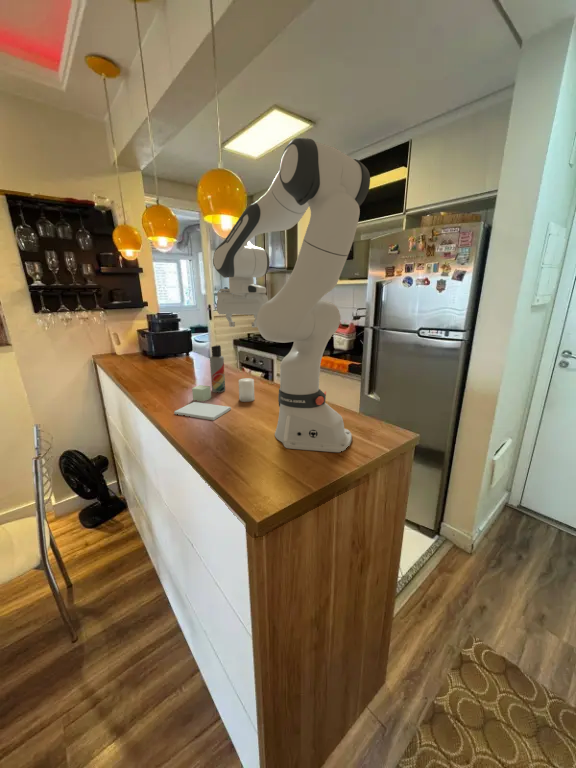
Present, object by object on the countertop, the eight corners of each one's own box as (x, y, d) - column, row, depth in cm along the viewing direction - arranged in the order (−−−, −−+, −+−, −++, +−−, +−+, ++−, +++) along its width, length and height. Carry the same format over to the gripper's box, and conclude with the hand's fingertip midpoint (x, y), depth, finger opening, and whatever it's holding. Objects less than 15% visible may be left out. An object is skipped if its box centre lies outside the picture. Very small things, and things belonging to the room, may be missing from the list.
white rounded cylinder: (257, 398, 125) (256, 379, 123) (250, 402, 120) (249, 382, 118) (243, 396, 127) (243, 377, 125) (236, 400, 122) (235, 381, 120)
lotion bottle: (222, 393, 131) (219, 346, 126) (209, 392, 132) (206, 346, 127) (227, 389, 137) (225, 344, 131) (215, 388, 138) (212, 344, 132)
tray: (230, 409, 112) (230, 406, 112) (213, 420, 102) (213, 417, 102) (194, 404, 118) (194, 401, 117) (174, 414, 108) (174, 411, 107)
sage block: (211, 398, 125) (210, 386, 124) (203, 401, 121) (202, 389, 119) (200, 396, 127) (199, 385, 125) (193, 400, 122) (192, 388, 121)
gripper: (212, 288, 113) (214, 326, 116) (263, 287, 106) (264, 328, 109) (221, 289, 118) (223, 325, 122) (270, 288, 111) (271, 327, 115)
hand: (243, 327), depth 116 cm, fingers open, 8 cm apart
